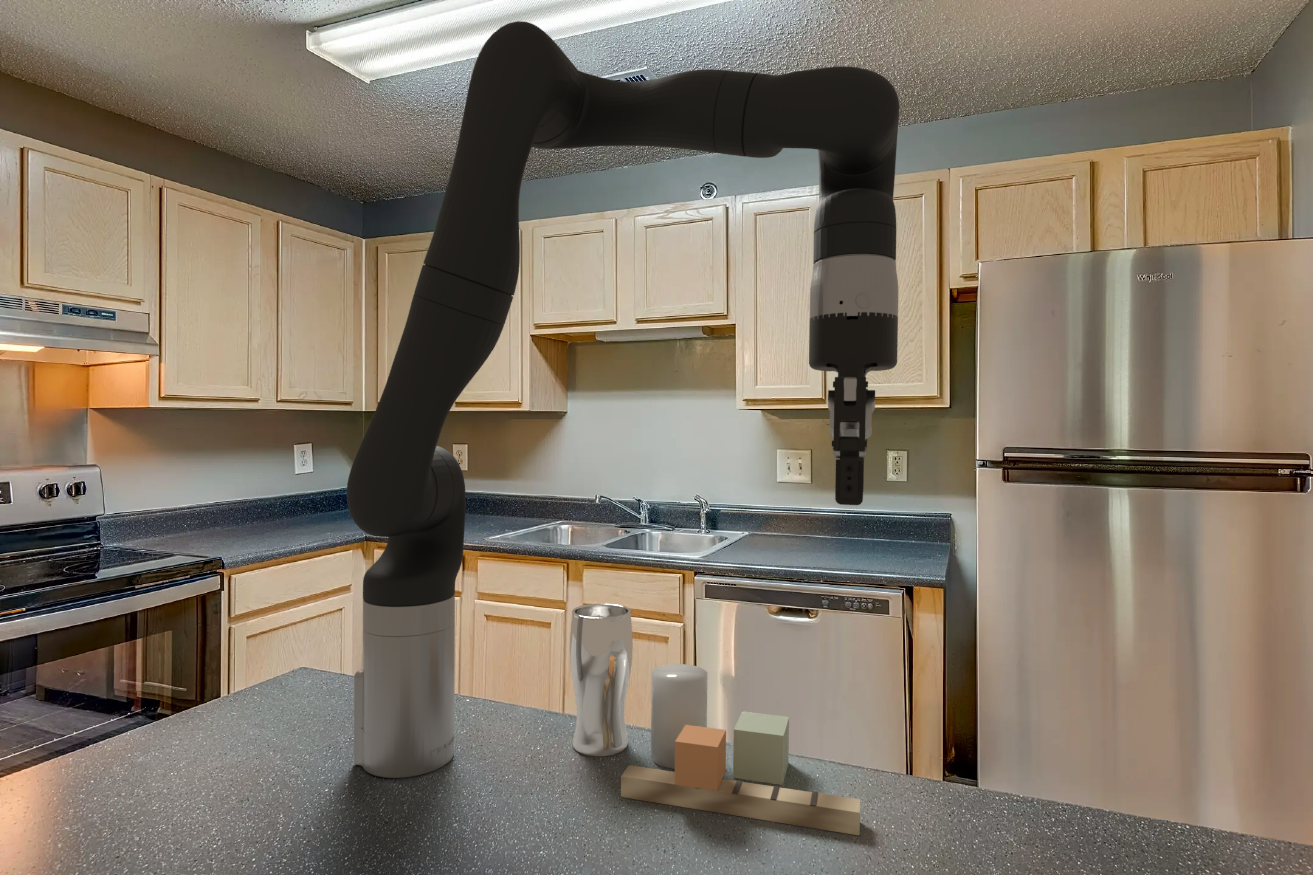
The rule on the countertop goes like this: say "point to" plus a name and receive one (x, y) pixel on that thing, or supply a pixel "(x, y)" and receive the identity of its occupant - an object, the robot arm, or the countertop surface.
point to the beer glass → (600, 676)
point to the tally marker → (700, 757)
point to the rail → (746, 800)
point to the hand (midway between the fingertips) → (850, 499)
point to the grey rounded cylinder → (675, 707)
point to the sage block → (761, 747)
